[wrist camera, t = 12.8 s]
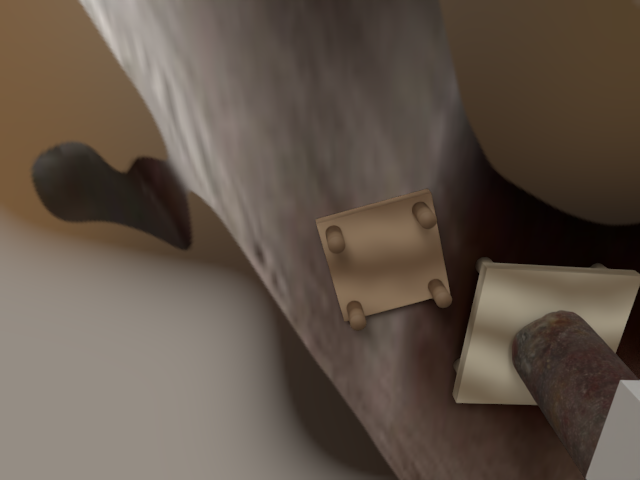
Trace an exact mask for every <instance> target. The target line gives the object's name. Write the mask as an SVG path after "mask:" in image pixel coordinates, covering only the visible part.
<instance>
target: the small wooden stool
mask: <svg viewBox="0 0 640 480" xmlns="http://www.w3.org/2000/svg"><path fill="white" fill-rule="evenodd" d="M475 268H476V270H477V271H478V273H479V278H478V283H477V287H476V292H475V296H474V301H473V305H472V309H471V314H470V318H469V323H468V327H467V332H466V336H465V340H464V345H463V349H462V354H461V358H459V359H457V360H456V361H455V362H454V364H453V367H454V369H455V371H456V373H457V376H456V380H455V385H454V389H453V394H452V395H453V397H454V399H455V401H456V403H482V404H519V405H537V403H536V402H535V400H534V399H533V397H532V395H531V394H530V392H529V390H528V389H527V387H526V386H525V384H524V382H523V381H522V379H521V378H520V376H519V374H518V373H517V371H516V369H515V368H514V365H513V363H512V344H513V341H514V340H515V337H516V335H517V333H518V332H519V331H520V330H521V329H523V328H524V327H525V326H527V325H528V324H530V323H531V322H533V321H535V320H537V319H540V318H542V317H543V316H545V315H546V314H548V313H551V312H557V311H559V310H564V311H569V312H574V313H576V314H577V315H579V316H580V317H581V318H583V319H584V320H585V321H586V322H587V323H588V324H589V325H590V326H591V327H592V328H593V330H594V331H595V332H596V333H597V334H598V335H599V336H600V337H601V338H602V339H603V340H604V341H605V342H606V344H607V345H608V346H609V347H610V348H611V349H612V350H613V351H614V352H615V353H616V351H617V348H618V345H619V342H620V339H621V336H622V334H623V331H624V328H625V325H626V322H627V320H628V317H629V314H630V311H631V308H632V305H633V303H634V300H635V297H636V294H637V291H638V289H639V286H640V274H639V273H637V272H636V271H634V270H618V269H607V268H606V267H605V266H603V265H602V264H600V263H596V264H593V265H592V266H591V267H590V268H581V267H562V266H544V265H525V264H507V263H493V261H492V260H491V259H490V258H488V257H482V258H480V259H479V260H478V261H477V262H476V264H475Z"/></svg>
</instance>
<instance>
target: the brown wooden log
mask: <svg viewBox="0 0 640 480" xmlns="http://www.w3.org/2000/svg"><path fill="white" fill-rule="evenodd" d="M512 363H513V365H514V368H515V369H516V371H517V373H518V374H519V376H520V378H521V379H522V381H523V382H524V384H525V386H526V387H527V389H528V390H529V392H530V394H531V395H532V397H533V399H534V400H535V402H536V403H537V405H538V406H539V408H540V409H541V411H542V412H543V414H544V416H545V417H546V419H547V420H548V422H549V424H550V425H551V427H552V428H553V430H554V431H555V433H556V434H557V436H558V437H559V439H560V440H561V442H562V444H563V445H564V447H565V448H566V450H567V451H568V453H569V455H570V456H571V458H572V459H573V461H574V462H575V464H576V465H577V467H578V469H579V470H580V472H581V473H582V475H583V476H584V478H585V480H587V479H586V475H587V472H588V469H589V467H590V464H591V461H592V458H593V455H594V452H595V450H596V447H597V444H598V441H599V438H600V436H601V433H602V430H603V427H604V424H605V421H606V419H607V416H608V413H609V410H610V407H611V404H612V402H613V399H614V396H615V393H616V390H617V388H618V385H619V382H620V380H639V379H638V378H637V377H636V376H635V375H634V373H633V372H632V371H631V370H630V369H629V368H628V367H627V366H626V365H625V364H624V363H623V361H622V360H621V359H620V358H619V357H618V356H617V355H616V354H615V352H614V351H613V350H612V349H611V348H610V347H609V346H608V345H607V344H606V342H605V341H604V340H603V339H602V338H601V337H600V336H599V335H598V334H597V333H596V332H595V331H594V330H593V328H592V327H591V326H590V325H589V324H588V323H587V322H586V321H585V320H584V319H583V318H581V317H580V316H579V315H577V314H576V313H574V312H569V311H564V310H559V311H557V312H551V313H548V314H546V315H545V316H543V317H542V318H540V319H537V320H535V321H533V322H531V323H530V324H528V325H527V326H525V327H524V328H523V329H521V330H520V331H519V332H518V333H517V335H516V337H515V340H514V341H513V344H512Z"/></svg>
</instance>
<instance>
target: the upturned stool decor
mask: <svg viewBox="0 0 640 480" xmlns="http://www.w3.org/2000/svg"><path fill="white" fill-rule="evenodd" d="M316 224H317V228H318V231H319V235H320V238H321V242H322V245H323V249H324V252H325V256H326V259H327V263H328V266H329V269H330V273H331V276H332V280H333V283H334V287H335V290H336V294H337V297H338V301H339V304H340V308H341V311H342V315H343V318H344V322H345V321H350V326H351V328H352V329H354V330H357V331H359V330H362V329H364V328H365V326H366V319H365V316H368V315H371V314H375V313H379V312H383V311H387V310H390V309H394V308H398V307H402V306H405V305H409V304H413V303H417V302H420V301H424V300H428V299H432V298H433V299H434V300H435V302H436V304H437V306H438V307H440V308H446V307H448V306H449V305H450V304H451V303H452V297H451V295H450V289H449V284H448V279H447V274H446V268H445V263H444V258H443V253H442V247H441V242H440V237H439V232H438V226H437V217H436V216H435V210H434V205H433V200H432V195H431V192H430V191H429V190H428V189H424V190H420V191H417V192H413V193H409V194H406V195H402V196H398V197H395V198H391V199H388V200H384V201H380V202H377V203H373V204H369V205H366V206H362V207H358V208H355V209H351V210H347V211H344V212H340V213H336V214H333V215H329V216H325V217H322V218H318V219H316Z"/></svg>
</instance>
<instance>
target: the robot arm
mask: <svg viewBox="0 0 640 480" xmlns="http://www.w3.org/2000/svg"><path fill="white" fill-rule="evenodd" d="M586 479H587V480H640V380H620V382H619V385H618V388H617V390H616V393H615V396H614V399H613V402H612V404H611V407H610V410H609V413H608V416H607V419H606V421H605V424H604V427H603V430H602V433H601V436H600V438H599V441H598V444H597V447H596V450H595V452H594V455H593V458H592V461H591V464H590V467H589V469H588V472H587V475H586Z"/></svg>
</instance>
